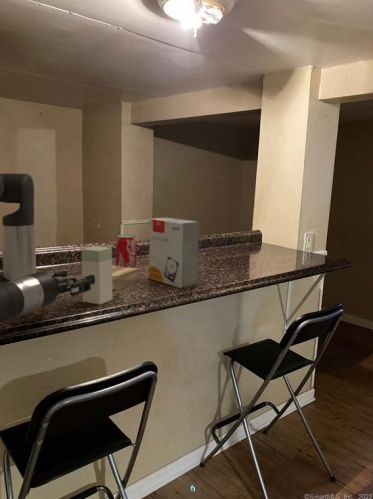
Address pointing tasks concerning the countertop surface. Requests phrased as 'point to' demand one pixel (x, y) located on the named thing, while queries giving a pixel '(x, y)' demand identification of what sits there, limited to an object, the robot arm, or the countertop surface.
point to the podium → (124, 276)
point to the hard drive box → (173, 251)
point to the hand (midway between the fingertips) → (79, 276)
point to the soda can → (126, 251)
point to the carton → (98, 273)
